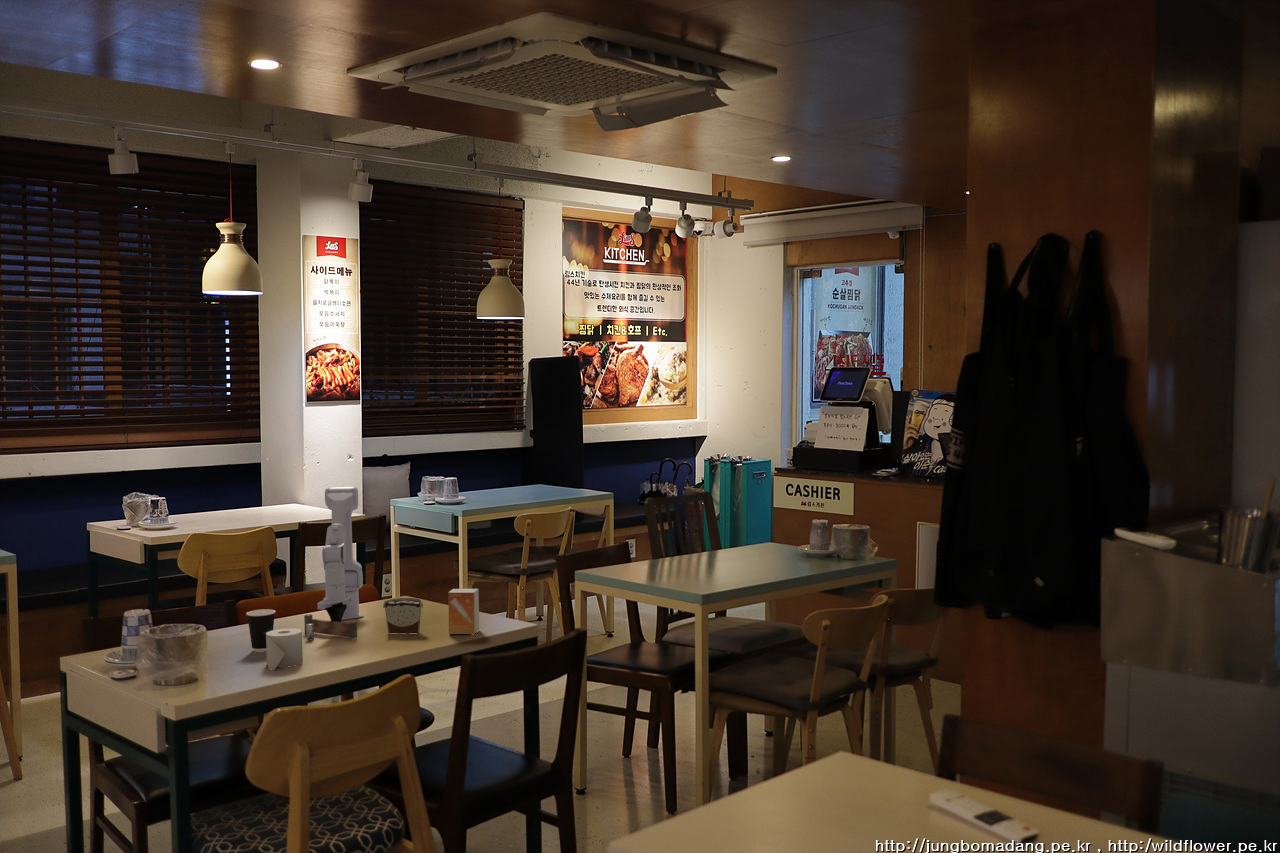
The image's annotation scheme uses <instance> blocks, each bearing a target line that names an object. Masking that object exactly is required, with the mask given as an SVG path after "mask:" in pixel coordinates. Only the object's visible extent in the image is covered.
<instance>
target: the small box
mask: <svg viewBox="0 0 1280 853" xmlns="http://www.w3.org/2000/svg"><path fill="white" fill-rule="evenodd" d="M479 590H480V589H479V588H452V589H451V590H449V591H448V592H447V594H448V595H447V596H448V599H447V600H448V635H449V634H475V633H476V632H477V631H478V630H479V631H480V608H479V607H480V603H479V602H480V601H479V600H480V599H479V592H480V591H479ZM479 631H478V632H479ZM478 632H477V633H478ZM477 633H476V634H477ZM476 634H475V635H476Z"/></svg>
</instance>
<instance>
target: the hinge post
mask: <svg viewBox="0 0 1280 853" xmlns="http://www.w3.org/2000/svg"><path fill="white" fill-rule="evenodd" d="M303 617H304V634H305V635H307V628H306V624H311V619H314V617H313V614H309V613H307V614H305V615H303Z"/></svg>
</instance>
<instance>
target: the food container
mask: <svg viewBox="0 0 1280 853" xmlns="http://www.w3.org/2000/svg"><path fill="white" fill-rule="evenodd" d="M382 608H383V609H384V611H385V612H384V613H385V619H386V628H387V634H388V633H419V634H420V626H421V615H422V614H421V612H422V609H424V603H423V602H422V599H421V598H416V597H395V598H389V599H387V600H385V601H384V602H383V607H382Z"/></svg>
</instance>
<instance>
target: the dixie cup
mask: <svg viewBox="0 0 1280 853" xmlns="http://www.w3.org/2000/svg"><path fill="white" fill-rule="evenodd" d="M275 613H277V612H276V610H274V609H271V608H270V609H269V608H267V609H254V610H251V611H247V612H246V616H247V622H248V629H249V636H250V642H251V644H250V645H251V648H252V650H253V652H254V651H255V652H254V653H265V652H264V651H266V652H267V650H266V633H267V632H269V631H272V630H274V624H275Z"/></svg>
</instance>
